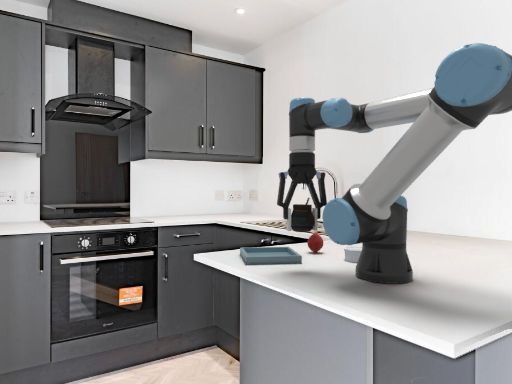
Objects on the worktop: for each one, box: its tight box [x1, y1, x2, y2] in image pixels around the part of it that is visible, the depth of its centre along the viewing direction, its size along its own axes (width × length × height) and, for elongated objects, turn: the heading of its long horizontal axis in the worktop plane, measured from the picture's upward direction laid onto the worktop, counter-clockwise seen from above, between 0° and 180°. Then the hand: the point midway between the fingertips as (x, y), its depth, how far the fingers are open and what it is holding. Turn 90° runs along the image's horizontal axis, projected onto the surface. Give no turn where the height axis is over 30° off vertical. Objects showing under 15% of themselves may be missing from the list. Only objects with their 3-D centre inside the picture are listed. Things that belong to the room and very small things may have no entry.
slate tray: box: [239, 246, 303, 266], centre depth 134 cm, size 18×18×2 cm
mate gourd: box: [291, 197, 315, 233], centre depth 116 cm, size 7×8×10 cm
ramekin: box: [343, 245, 362, 264], centre depth 133 cm, size 9×9×4 cm
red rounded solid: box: [307, 230, 324, 254], centre depth 146 cm, size 6×6×8 cm
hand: (301, 230), depth 116 cm, fingers closed on mate gourd, 7 cm apart
